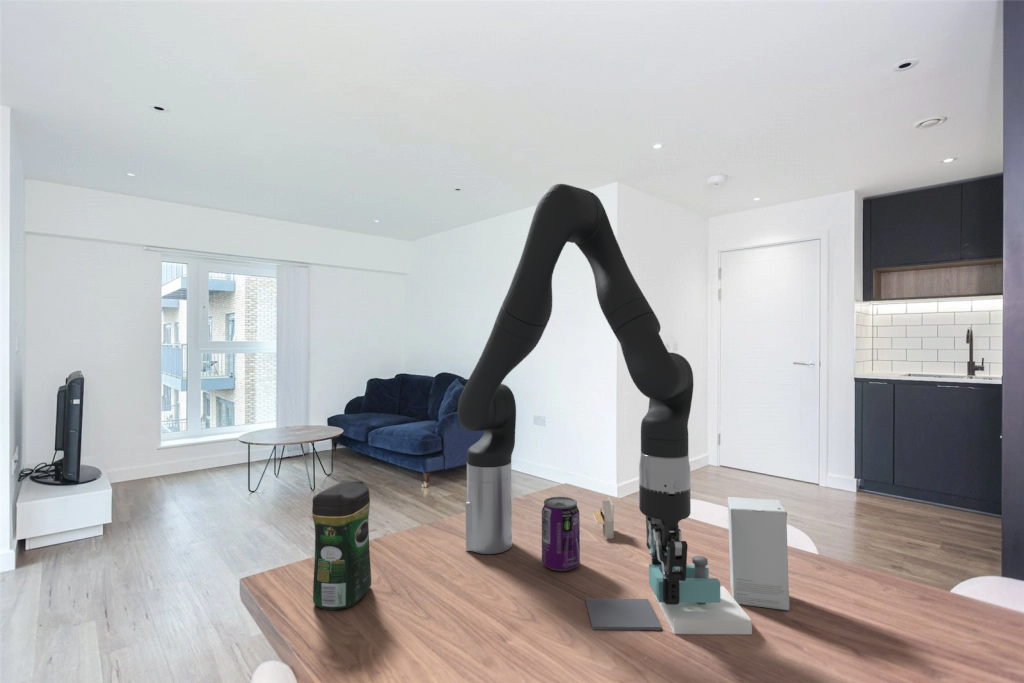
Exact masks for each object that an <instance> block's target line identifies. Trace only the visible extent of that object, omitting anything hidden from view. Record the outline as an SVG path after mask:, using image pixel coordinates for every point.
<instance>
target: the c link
mask: <svg viewBox="0 0 1024 683" xmlns="http://www.w3.org/2000/svg"><path fill="white" fill-rule="evenodd" d="M709 569H710V568H709V566H708V565H706V578H695V568H694V564H686V580H685V581H679V602H698V603H720V586H721V581H720V580H719V579H718V578H717V577H716V578H711V577H710V575H709V573H710V572H709V571H710V570H709ZM672 570H675V567H673V568H672ZM662 573H663V572H662V565H653V564H652V563H651V564H650V563H649V564H648V584H649V586H650V588H651V590H652V592H653V593H654V595H655V596H656V597H657V599H658V601H659V602H664V600H663V575H662ZM656 597H655V598H656Z"/></svg>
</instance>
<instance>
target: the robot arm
mask: <svg viewBox="0 0 1024 683" xmlns="http://www.w3.org/2000/svg"><path fill="white" fill-rule="evenodd" d="M607 214H608V213H607V212H606V209H605V207H604V205H603V202H602V201H601V199H600V198H599V197H598V196H597V194H595V193H593V192H591V191H590V190H587V189H583V188H581V187H576V186H573V185H569V184H565V183H557V184H554V185H552V186H550V187H549V188H547V189H546V190H545V191H544V193H542V196H540V199H539V201H538V202H537V204H536V207H535V210H534V213H533V216H532V220H531V223H530V226H529V229H528V232H527V236H526V241H525V243H524V246H523V250H522V253H521V256H520V260H519V262H518V264H517V267H516V270H515V273H514V275H513V278H512V280H511V283H510V286H509V287H508V290H507V293H506V295H505V297H504V300H503V301H502V304H501V306H500V308H499V311H498V314H497V316H496V318H495V322H494V324H493V326H492V329H491V332H490V334H489V337H488V338H487V341H486V344H485V346H484V348H483V350H482V353H481V355H480V356H479V359H478V361H477V363H476V365H475V367H474V369H473V370H472V372H471V374H470V376H469V378H468V380H467V381H466V383H465V385H464V387H463V389H462V391H461V394H460V396H459V399H458V404H457V419H458V421H459V424H460V425H461V427H463V428H464V429H465V430H466V431H471V432H480V431H483V435H482V436H481V437H480V439H479V440H477V441H476V442H475V443H473V444H472V445H471V446H470V447H469V448H467V451H466V487H467V488H466V502H465V551H467V552H474V553H476V554H482V555H494V554H501V553H504V552H507V551H509V550H510V548H511V547H512V545H513V531H512V530H513V522H512V521H513V514H512V512H513V510H512V509H513V508H512V506H513V504H512V500H513V499H512V494H513V493H512V455H513V452H514V449H515V445H516V428H517V427H516V425H517V424H516V423H517V422H516V421H517V403H516V400H515V396H514V394H513V391H512V390H511V388H510V387H509V386H508V385H505V384H503V382H504V379H505V378H506V377H507V376H508V375H509V374H510V373H511V372H512V371H513V370H514V369H515V368H516V367H518V365H520V363H522V362H523V360H525V359H526V358H527V357H528V356H529V355H530V354H531V353H532V351H534V350H535V348H536V346H537V345H538V344H539V342H540V341H541V338H542V336H543V335H544V333H545V330H546V327H547V326H548V323H549V321H550V318H551V316H552V312H553V275H554V270H555V267H556V264H557V262H558V260H559V258H560V257H561V256H560V255H561V253H562V251H563V249H564V248H565V246H566V244H567V243H572V244H574V245H576V247H577V248H578V249H579V250H580V251H581V253H582V254H583V255H584V257H585V259H586V260H587V261H588V264H589V265H590V267H591V270H592V274H593V278H594V284H595V291H596V297H597V301H598V304H599V308H600V309H601V312H602V313H603V316H604V317H605V320H606V321H607V323H608V326H610V329H611V330H612V332H613V334H614V336H615V338H616V339H617V341H618V343H619V344H620V348H621V353H622V356H623V359H624V361H625V362H624V363H625V365H626V367H627V370H628V371H627V372H628V373H629V376H630V378H631V380H632V382H633V384H634V385H635V387H636V388H637V389H638V391H639V392H640V393H641V394H642V395H644V396H645V397H647V398H648V399H649V402H648V410H647V412H646V415H644V416H643V418H642V420H641V423H640V458H639V459H640V460H639V464H638V465H639V467H638V471H639V472H638V474H639V475H638V479H639V480H638V482H639V484H638V485H639V486H638V488H639V490H638V491H639V493H638V494H639V495H638V497H639V498H638V499H639V500H638V501H639V503H638V504H639V508H638V509H639V511H640V512H641V514H642V515H643V516H645V527H646V530H645V531H646V547H647V549H648V550H649V552H648V554H649V556H650V559H651V564H653V565H662V572H663V573H662V575H663V600H664V602H665V604H667V605H677V604H679V581H685V580H686V565H688V564H687V561H688V548H689V547H688V546H689V545H688V542H687V540H683V536H682V534H683V533H682V531H681V528H679V526H680V525H679V523H680V521H683V520H686V519H687V518H689V517H690V516H691V512H692V511H691V510H692V509H691V503H692V502H691V467H690V466H691V465H690V464H691V463H690V458H689V457H690V456H689V455H690V454H689V428H688V427H689V426H688V425H689V419H690V414H691V410H692V409H691V407H692V401H693V395H694V374H693V373H694V372H693V369H692V366H691V364H690V362H689V361H688V359H687V358H685V357H684V356H683V355H681V354H679V353H676V352H669V351H668V349H667V347H666V345H665V343H664V341H663V339H662V338H661V335H660V332H661V328H662V327H661V324H660V321H659V318H658V317H657V315H656V314H655V311H654V310H653V308H652V307H651V305H650V303H649V302H648V300H647V298H646V296H645V295H644V293H643V292H642V290H641V288H640V287H639V285H638V283H637V281H636V279H635V277H634V275H633V274H632V272H631V270H630V268H629V266H628V263H627V261H626V259H625V257H624V255H623V253H622V250H621V247H620V245H619V242H618V240H617V237H616V235H615V234H614V233H615V232H614V230H613V228H612V225H611V222H610V219H609V217H608V215H607ZM673 567H675V570H672V568H673Z"/></svg>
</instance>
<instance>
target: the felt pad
mask: <svg viewBox="0 0 1024 683" xmlns="http://www.w3.org/2000/svg"><path fill="white" fill-rule="evenodd" d="M585 603H586V607H587V608H586V609H587V612H588V616H589V620H590V625H591V628H592V630H596V631H597V630H601V631H603V630H606V631H607V630H608V631H609V630H613V631H614V630H617V631H619V630H621V631H624V630H627V631H628V630H629V631H631V630H632V631H634V630H635V631H637V630H639V631H641V630H643V631H647V630H648V631H650V630H651V631H662V630H663V629H662V628H663V627H662V625H661V623H660V621H659V619H658V617H657V615H656V613H655V611H654V609H653V607H652V605H651V603H650V600H649V598H585Z"/></svg>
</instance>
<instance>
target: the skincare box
mask: <svg viewBox="0 0 1024 683" xmlns="http://www.w3.org/2000/svg"><path fill="white" fill-rule="evenodd" d="M727 511H728V513H727V514H728V516H727V518H728V545H729V546H728V547H729V548H728V549H729V551H728V552H729V576H730V577H729V578H730V582H729V584H730V590H731V596H732V597H733V598H734V600H735V601H736V602H737V603H738V604H739V605H741V606H742V605H744V606H750V607H751V606H752V607H759V608H767V609H774V610H783V611H789V610H790V588H789V586H790V585H789V584H790V582H789V559H788V558H789V553H788V551H789V550H788V524H787V522H788V521H787V520H788V518H787V517H788V512H787V510H786V509H785V507H784V506H783V505H782V503H781V501H780V499H767V498H752V497H736V496H728V497H727Z"/></svg>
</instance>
